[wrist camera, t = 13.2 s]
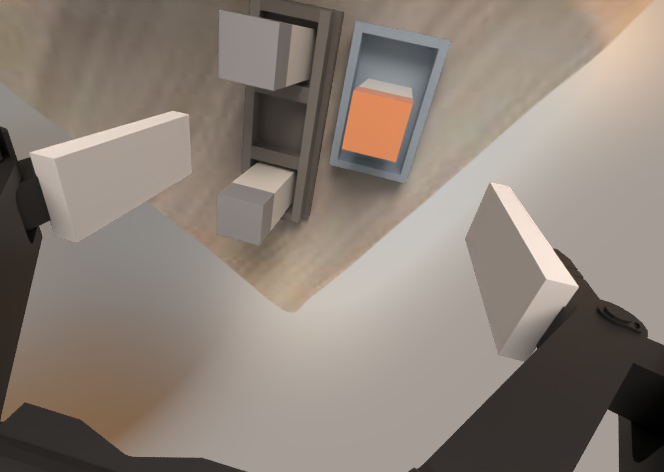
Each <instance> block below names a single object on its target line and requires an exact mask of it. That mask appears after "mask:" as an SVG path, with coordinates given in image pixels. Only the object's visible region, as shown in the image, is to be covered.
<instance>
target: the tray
mask: <svg viewBox="0 0 664 472" xmlns="http://www.w3.org/2000/svg"><path fill="white" fill-rule="evenodd" d="M450 43H451V40H446V39H441V38H437V37H432V36H427V35H423V34H418V33H413V32H408V31H404V30H399V29H394V28H390V27H385V26H380V25H376V24H371V23H366V22H362V21H357V20H356V22H355V27H354V33H353V38H352V43H351V49H350V54H349V59H348V65H347V70H346V76H345V81H344V86H343V92H342V97H341V102H340V108H339V113H338V118H337V124H336V129H335V134H334V140H333V145H332V150H331V156H330V161H329V165H333V166H337V167H341V168H345V169H349V170H353V171H357V172H361V173H365V174H369V175H373V176H377V177H381V178H385V179H389V180H393V181H397V182H401V183H405V184H406V181H407V178H408V175H409V172H410V168H411V165H412V162H413V159H414V156H415V153H416V150H417V146H418V143H419V140H420V137H421V134H422V131H423V128H424V124H425V121H426V118H427V115H428V112H429V109H430V106H431V102H432V99H433V96H434V93H435V90H436V87H437V84H438V80H439V77H440V74H441V71H442V68H443V65H444V62H445V58H446V55H447V52H448V49H449V46H450ZM368 78H369V79H374V80H378V81H382V82H387V83H391V84H396V85H400V86H405V87H409V88H412V97H413V106H412V109H411V112H410V116H409V119H408V123H407V126H406V129H405V133H404V136H403V140H402V143H401V147H400V150H399V153H398V157H397V160H396V162H393V161H389V160H385V159H381V158H377V157H373V156H368V155H364V154H360V153H356V152H352V151H348V150H344V149H342V145H343V140H344V135H345V130H346V125H347V120H348V115H349V110H350V105H351V100H352V95H353V90H354V89H356V88H357V87H358V86H360V85H361V84H362V83H363V82H365V81H366V80H367V79H368Z"/></svg>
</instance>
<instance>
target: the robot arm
mask: <svg viewBox="0 0 664 472" xmlns="http://www.w3.org/2000/svg"><path fill="white" fill-rule="evenodd" d="M29 154H30V158H26V159H23V160H20V161H17V158H16V155H15V151H14V149H13V145H12V143H11V139H10V136H9V133H8V130H7V129H6V128H3V127H0V419H1V414H2V409H3V405H4V400H5V396H6V392H7V388H8V383H9V379H10V375H11V370H12V366H13V362H14V357H15V353H16V348H17V344H18V340H19V336H20V331H21V327H22V323H23V318H24V314H25V310H26V305H27V301H28V297H29V292H30V288H31V284H32V279H33V275H34V271H35V266H36V262H37V258H38V253H39V249H40V245H41V240H42V234H41V230H40V228H39V225H41V224H43V223H45V222H47V221H49V220H50V222H51V225H52V229H53V232H54V235H55V237H57V238H61V239H64V240H68V241H72V242H76V243H78V242H79V241H81V240H83V239H84V238H86V237H87V236H89V235H91V234H93V233H94V232H96V231H97V230H99V229H101V228H102V227H104V226H106V225H107V224H109V223H110V222H112V221H114V220H115V219H117V218H119V217H121V216H122V215H124V214H126V213H127V212H129V211H131V210H132V209H134V208H136V207H137V206H139V205H141V204H142V203H144V202H145V201H147V200H149V199H150V198H152V197H154V196H155V195H157V194H159V193H160V192H162V191H164V190H165V189H167V188H169V187H170V186H172V185H174V184H175V183H177V182H179V181H180V180H182V179H184V178H185V177H187V176H189V175H190V174H192V163H191V144H190V125H189V114H184V113H180V112H175V111H171V112H167V113H164V114H160V115H157V116H153V117H150V118H147V119H143V120H140V121H136V122H133V123H129V124H126V125H122V126H119V127H116V128H112V129H109V130H105V131H102V132H98V133H95V134H91V135H88V136H85V137H81V138H78V139H74V140H71V141H68V142H64V143H61V144H57V145H54V146H50V147H47V148H43V149H40V150H36V151H33V152H30V153H29ZM465 240H466V243H467V247H468V250H469V254H470V257H471V261H472V264H473V268H474V271H475V275H476V278H477V282H478V285H479V289H480V292H481V296H482V299H483V302H484V306H485V309H486V313H487V317H488V320H489V324H490V327H491V331H492V334H493V338H494V341H495V344H496V348H497V351H498V355H501V356H505V357H509V358H512V359H516V360H520V361H524V363H523V364H522V365H521V366H520V367H519V368H518V369H517V370H516V371H515V372H514V373H513V374H512V375H511V376H510V377H509V379H507V380H506V381H505V382H504V383H503V384H502V385H501V386H500V388H499V389H498V390H497V391H496V392H495V393H494V394H493V395H492V396H491V397H490V398H489V399H488V400H487V401H486V402H485V403H484V404H483V405H482V406H481V407H480V408H479V409H478V410H477V411H476V412H475V413H474V414H473V415H472V416H471V417H470V418H469V419H468V420H467V421H466V422H465V423H464V424H463V425H462V426H461V427H460V428H459V429H458V430H457V431H456V432H455V433H454V434H453V435H452V436H451V437H450V438H449V439H448V440H447V441H446V442H445V443H444V444H443V445H442V446H441V447H440V448H439V449H438V450H437V451H436V452H435V453H434V454H433V455H432V456H431V457H430V458H429V459H428V460H427V461H426V462H425V463H424V464H423V465H422V466H421V467H420V468H418V469H416V468H413V469H411V470H410V471H409V472H573V470H574V469H575V467H576V465H577V463H578V462H579V460H580V458H581V456H582V454H583V453H584V451H585V449H586V447H587V445H588V443H589V442H590V440H591V438H592V436H593V434H594V433H595V431H596V429H597V427H598V425H599V424H600V422H601V420H602V418H603V416H604V415H605V413H606V411H607V409H608V410H610V411H612V412H614V413H616V414H618V416H619V418H618V419H619V472H664V345H662V344H660V343H657V342H655V341H653V340H650V339H648V338H647V337H648V331H647V329H646V328H645V326H644V325H643V323H642V322H641V321H639V320H638V319H637V318H636V317H635V316H634V315H632V314H631V313H629V312H628V311H626V310H624V309H623V308H621V307H619V306H617V305H615V304H612V303H610V302H607V301H603V300H600V299H599V298H598V297H597V295H596V294H595V293H594V291H593V290H592V288H591V287H590V286H589V284H588V283H587V282H586V281H585V280H584V279H583V276H582V275H581V274H580V272H579V271H577V268H576V267H575V265H574V264H573V263H572V261H571V260H570V259H569V258H568V257H566V256H565V255H564V254H562V253H561V252H560V251H559V250H557V249H553V248H552V247H551V246H550V245H549V243H548V242H547V240H546V239H545V238H544V236H543V234H542V233H541V232H540V231H539V229H538V227H537V226H536V224H535V223H534V222H533V220H532V219H531V217H530V216H529V214H528V213H527V211H526V210H525V209H524V207H523V206H522V205H521V203H520V202H519V200H518V199H517V197H516V196H515V194H514V193H513V192H512V190H511V189H510V187H509V186H505V185H501V184H496V183H492V182H490V183H489V185H488V188H487V190H486V192H485V195H484V197H483V199H482V202H481V204H480V206H479V208H478V211H477V213H476V215H475V218H474V220H473V222H472V224H471V227H470V229H469V231H468V233H467V236H466V238H465ZM536 347H537V350H536V351H535V352H534V353H533V351H534V350H535V349H536ZM532 353H533V354H532ZM531 354H532V355H531ZM0 472H246V471H242V470H239V469H236V468H233V467H230V466H227V465H223V464H220V463H217V462H214V461H211V460H207V459H204V458H171V457H170V458H168V457H167V458H165V457H131V456H128V455H125V454H124V453H122V452H121V451H120V450H118V449H117V448H116V447H114V446H113V445H112V444H111V443H109V442H108V441H107V440H105V439H104V438H103V437H102V436H101V435H99V434H98V433H97V432H95V431H94V430H93V429H92V428H90V427H89V426H88V425H87V424H85V423H84V422H83V421H81V420H80V419H76V418H73V417H70V416H67V415H64V414H60V413H57V412H54V411H51V410H48V409H44V408H41V407H38V406H35V405H31V404H28V403H24V404H23V405H22V406H21V407H19V408H18V409H17V410H16V411H15V412H14V413H13V414H12V415H11V416H10V417H9V418H8V419H7V420H6V421H5V422H0Z"/></svg>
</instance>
